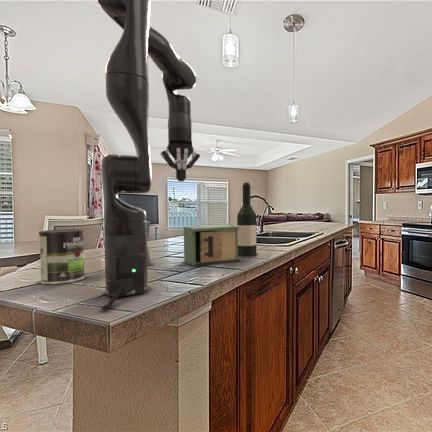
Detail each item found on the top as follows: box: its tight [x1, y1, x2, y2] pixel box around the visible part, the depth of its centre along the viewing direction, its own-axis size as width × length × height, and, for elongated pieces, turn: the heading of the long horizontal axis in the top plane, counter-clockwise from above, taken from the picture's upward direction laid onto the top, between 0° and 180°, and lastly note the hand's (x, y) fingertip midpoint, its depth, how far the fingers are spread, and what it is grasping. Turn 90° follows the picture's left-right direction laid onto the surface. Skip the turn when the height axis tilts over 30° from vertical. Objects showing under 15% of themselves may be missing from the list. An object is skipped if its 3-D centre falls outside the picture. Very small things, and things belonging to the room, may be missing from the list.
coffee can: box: [38, 228, 86, 285], centre depth 91 cm, size 10×10×14 cm
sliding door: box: [200, 231, 222, 263], centre depth 111 cm, size 6×8×11 cm
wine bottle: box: [236, 182, 257, 257], centre depth 134 cm, size 8×8×30 cm
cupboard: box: [183, 224, 240, 267], centre depth 118 cm, size 11×17×13 cm, turn 125°
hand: (181, 181), depth 107 cm, fingers closed
